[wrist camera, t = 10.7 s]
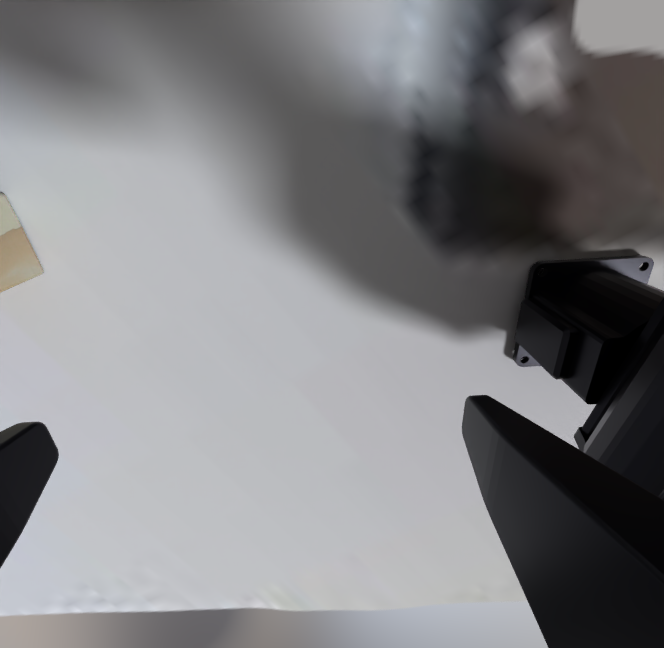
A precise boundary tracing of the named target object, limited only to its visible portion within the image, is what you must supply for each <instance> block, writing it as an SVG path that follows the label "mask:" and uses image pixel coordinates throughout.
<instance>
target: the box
mask: <svg viewBox="0 0 664 648" xmlns="http://www.w3.org/2000/svg"><path fill="white" fill-rule="evenodd" d="M43 273H44V271H43V268H42V266H41V264H40V262H39V260H38V258H37V256H36V254H35V252H34V250H33V248H32V246H31V244H30V242H29V240H28V238H27V236H26V234H25V232H24V230H23V228H22V226H21V224H20V222H19V220H18V218H17V216H16V214H15V212H14V210H13V208H12V206H11V205H10V203H9V201H8V199H7V197H6V195H5V194H3V193H0V292H3V291H5V290H7V289H9V288H11V287H14V286H16V285H18V284H21V283H23V282H25V281H27V280H30V279H32V278H34V277H36V276H38V275H41V274H43Z"/></svg>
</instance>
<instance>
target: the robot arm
mask: <svg viewBox="0 0 664 648" xmlns="http://www.w3.org/2000/svg"><path fill="white" fill-rule="evenodd" d="M642 263H643V265H642V267H640V265H641V264H642ZM653 265H654V262H653V260H652V259H651V258H649V257H646V256H625V257H608V258H590V259H573V260H556V261H540V262H537V263H535V264H533V266H532V267H531V269H530V272H529V277H528V282H527V288H526V293H525V298H524V300H523V301H522V303H521V308H520V313H519V319H518V324H517V329H516V335H515V341H516V345H515V351H514V356H513V360H514V361H515V363H516V364H517V365H519V366H521V367H528V366H542V367H543V368H544V369H545V370H546V371H547V372H548V373H549V374H550V375H551V376H552V377H553V378H555V379H562V380H563V381H564V382H565V383H566V384H567V385H568V386H569V387H570V388H571V389H572V390H573V391H574V392H575V393H576V394H577V395H578V396H580V397H581V398H582V399H583V400H584V401H585V402H586V403H587V404H596V406H595V408H594V409H593V411H592V412H591V414H590V416H589V417H588V419H587V420H586V422H585V424H584V425H583V427H579V428H578V430H577V432H576V433H575V435H574V438H575V441H576V443H577V445H578V447H579V449H577V448H575V447H574V446H572V445H570V444H569V443H567V442H565V441H564V440H562V439H560V438H559V437H557V436H555V435H554V434H552V433H550V432H549V431H547V430H545V429H544V428H542V427H540V426H538V425H537V424H535V423H533V422H532V421H530V420H528V419H527V418H525V417H523V416H522V415H520V414H518V413H517V412H515V411H513V410H512V409H510V408H508V407H507V406H505V405H503V404H501V403H500V402H498V401H496V400H495V399H493V398H491V397H490V396H487V395H475V396H469V397H467V399H466V401H465V407H464V415H463V422H462V434H463V438H464V441H465V444H466V447H467V450H468V454H469V457H470V460H471V463H472V466H473V469H474V472H475V475H476V478H477V481H478V485H479V488H480V491H481V494H482V497H483V500H484V502H485V505H486V508H487V510H488V513H489V515H490V517H491V520H492V522H493V524H494V526H495V529H496V531H497V533H498V535H499V538H500V540H501V542H502V544H503V547H504V549H505V551H506V553H507V556H508V558H509V560H510V562H511V565H512V567H513V569H514V571H515V574H516V576H517V578H518V580H519V583H520V585H521V587H522V589H523V591H524V594H525V596H526V598H527V600H528V603H529V605H530V607H531V609H532V612H533V614H534V616H535V618H536V621H537V623H538V625H539V627H540V629H541V632H542V634H543V636H544V639H545V641H546V643H547V645H548V648H664V291H662V290H660V289H657V288H655V287H652V286H650V285H647V283H648V280H649V277H650V274H651V271H652V268H653ZM639 267H640V268H639ZM541 268H543V272H542V273H541V274H539V275H538V272H539V270H540V269H541ZM524 356H525V358H524V359H523V360H521V358H522V357H524ZM58 456H59V453H58V449H57V447H56V445H55V443H54V441H53V439H52V437H51V435H50V433H49V431H48V429H47V427H46V426H45V425H44V424H43V423H41V422H24V423H18V424H16V425H14V426H12V427H9V428H7V429H5V430H3V431H1V432H0V568H1V566H2V565H3V563H4V562H5V560H6V558H7V557H8V555H9V553H10V552H11V550H12V548H13V547H14V545H15V543H16V542H17V540H18V538H19V536H20V535H21V533H22V531H23V529H24V527H25V525H26V523H27V522H28V520H29V518H30V516H31V514H32V512H33V510H34V508H35V506H36V504H37V502H38V500H39V498H40V496H41V494H42V492H43V490H44V488H45V486H46V484H47V482H48V480H49V478H50V476H51V474H52V472H53V470H54V468H55V466H56V463H57V461H58Z"/></svg>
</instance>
